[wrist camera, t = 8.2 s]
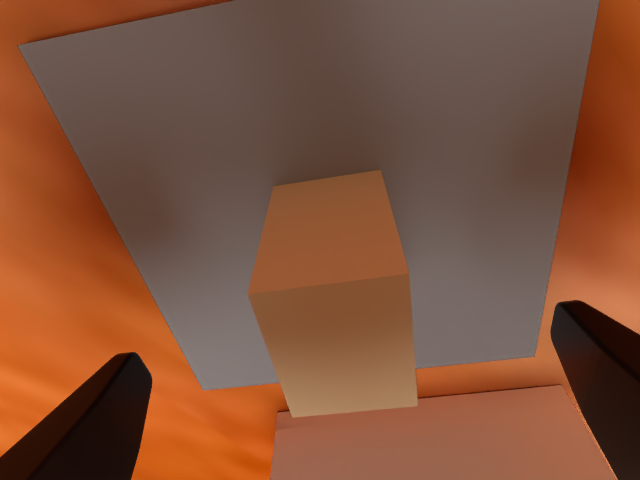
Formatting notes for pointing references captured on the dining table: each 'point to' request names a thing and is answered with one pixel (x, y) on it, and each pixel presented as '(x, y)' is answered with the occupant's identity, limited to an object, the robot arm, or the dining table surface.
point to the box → (444, 441)
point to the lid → (332, 180)
